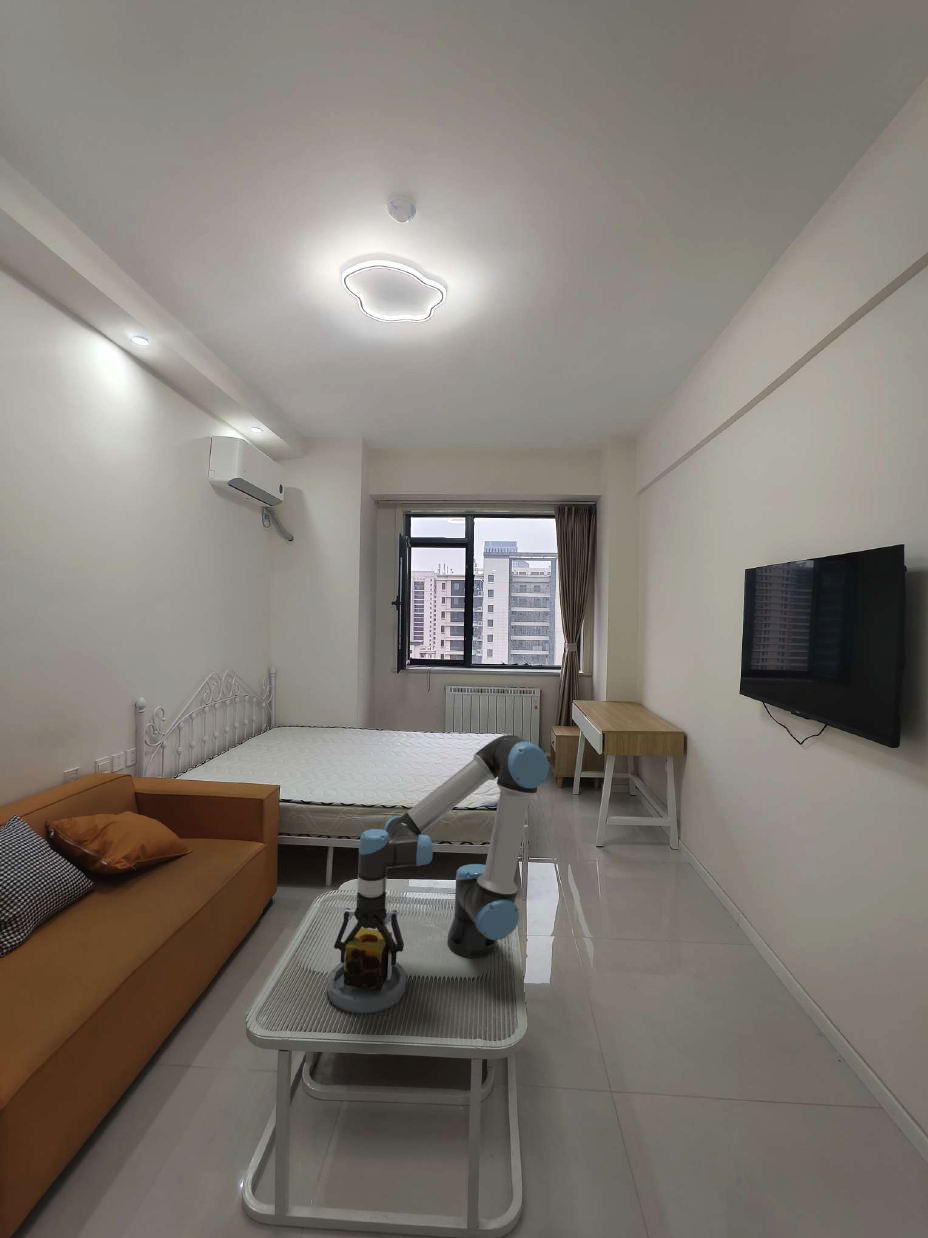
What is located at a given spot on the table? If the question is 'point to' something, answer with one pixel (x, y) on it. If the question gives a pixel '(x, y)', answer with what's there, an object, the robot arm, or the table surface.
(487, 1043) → the table surface
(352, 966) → the candle
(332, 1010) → the table surface
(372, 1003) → the dish
